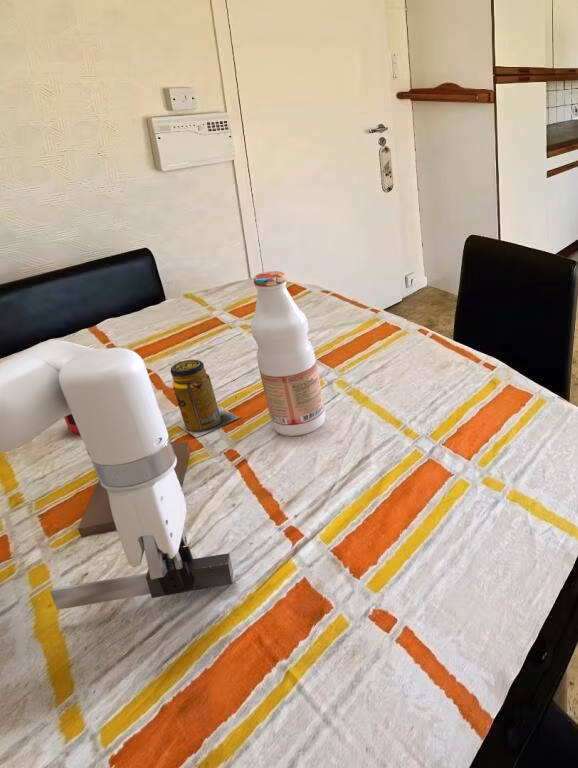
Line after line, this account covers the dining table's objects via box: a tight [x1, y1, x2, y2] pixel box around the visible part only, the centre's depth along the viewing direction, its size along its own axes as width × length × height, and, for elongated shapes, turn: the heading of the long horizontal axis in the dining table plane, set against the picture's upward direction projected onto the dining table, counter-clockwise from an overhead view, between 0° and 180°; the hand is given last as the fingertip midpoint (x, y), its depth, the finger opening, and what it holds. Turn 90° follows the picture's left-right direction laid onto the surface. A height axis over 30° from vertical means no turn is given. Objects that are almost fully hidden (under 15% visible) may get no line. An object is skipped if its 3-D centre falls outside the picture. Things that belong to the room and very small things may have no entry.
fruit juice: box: [250, 270, 326, 437], centre depth 107 cm, size 9×9×28 cm
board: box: [77, 441, 192, 537], centre depth 97 cm, size 12×19×2 cm, turn 18°
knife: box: [49, 552, 234, 611], centre depth 75 cm, size 19×2×3 cm, turn 108°
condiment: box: [170, 359, 241, 438], centre depth 111 cm, size 7×8×12 cm
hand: (181, 581), depth 77 cm, fingers closed on knife, 2 cm apart
